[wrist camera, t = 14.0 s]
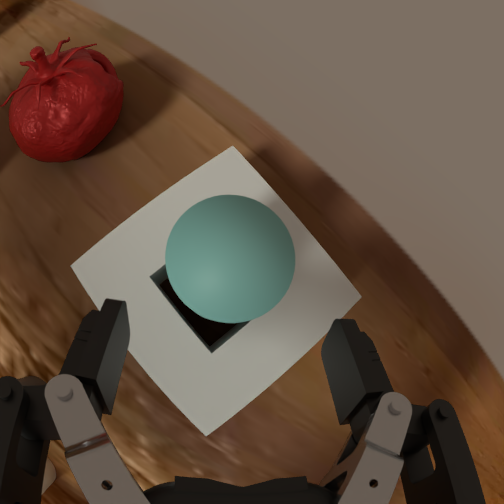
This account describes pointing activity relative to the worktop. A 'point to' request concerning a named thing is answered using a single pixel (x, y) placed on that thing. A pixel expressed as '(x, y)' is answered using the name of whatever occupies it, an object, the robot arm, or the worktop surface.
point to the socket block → (177, 326)
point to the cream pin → (48, 475)
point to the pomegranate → (64, 103)
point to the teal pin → (230, 258)
